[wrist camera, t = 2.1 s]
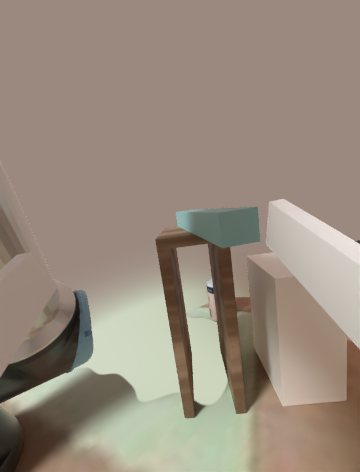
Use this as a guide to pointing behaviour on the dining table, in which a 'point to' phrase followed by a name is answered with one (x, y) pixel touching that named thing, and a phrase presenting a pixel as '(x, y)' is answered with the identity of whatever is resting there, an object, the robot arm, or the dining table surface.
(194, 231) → the bar
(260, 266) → the pillar
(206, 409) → the dining table surface
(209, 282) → the beer can
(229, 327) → the tall wooden grooved block
